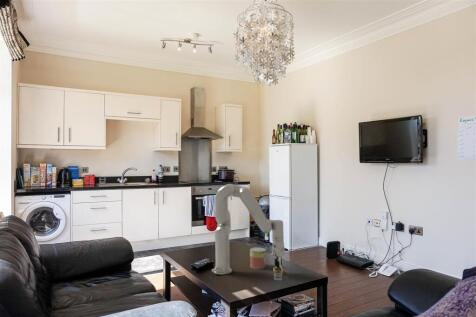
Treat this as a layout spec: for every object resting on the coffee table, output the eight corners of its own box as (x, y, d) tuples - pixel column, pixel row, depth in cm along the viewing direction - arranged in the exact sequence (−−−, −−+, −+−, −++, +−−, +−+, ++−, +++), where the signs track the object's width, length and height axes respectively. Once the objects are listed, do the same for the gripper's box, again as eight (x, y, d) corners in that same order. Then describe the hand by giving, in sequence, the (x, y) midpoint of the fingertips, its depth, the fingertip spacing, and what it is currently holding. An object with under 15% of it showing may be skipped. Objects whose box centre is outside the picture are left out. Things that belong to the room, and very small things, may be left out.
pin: (279, 270, 214) (279, 255, 215) (274, 269, 216) (274, 254, 217) (282, 268, 218) (282, 253, 218) (277, 267, 220) (276, 253, 220)
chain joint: (283, 280, 203) (283, 276, 203) (272, 280, 204) (272, 276, 204) (283, 267, 230) (282, 263, 230) (273, 266, 231) (273, 263, 231)
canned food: (264, 269, 226) (264, 251, 226) (248, 268, 228) (248, 251, 228) (266, 264, 237) (266, 247, 237) (251, 263, 239) (251, 247, 239)
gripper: (277, 241, 209) (278, 270, 208) (288, 236, 222) (288, 263, 222) (267, 240, 213) (267, 268, 212) (278, 235, 226) (278, 262, 226)
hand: (278, 265), depth 217 cm, fingers closed on pin, 3 cm apart
